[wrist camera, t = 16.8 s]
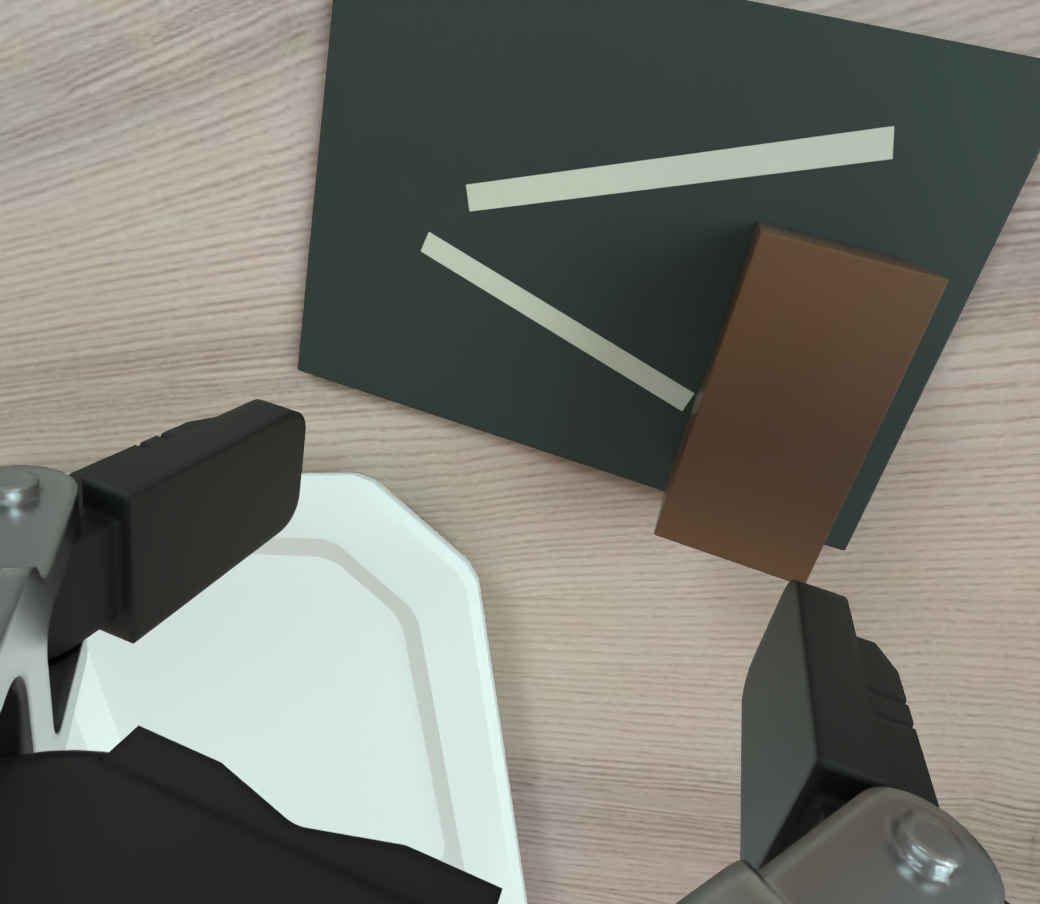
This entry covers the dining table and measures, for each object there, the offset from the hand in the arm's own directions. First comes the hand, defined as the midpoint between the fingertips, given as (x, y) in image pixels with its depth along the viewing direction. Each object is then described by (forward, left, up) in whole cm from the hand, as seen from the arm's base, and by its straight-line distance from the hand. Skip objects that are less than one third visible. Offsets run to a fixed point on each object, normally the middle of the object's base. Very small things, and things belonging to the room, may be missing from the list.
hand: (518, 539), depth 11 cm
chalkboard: (-3, -2, -13) cm, 14 cm away
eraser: (-1, +4, -13) cm, 13 cm away
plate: (+21, -12, -13) cm, 27 cm away
